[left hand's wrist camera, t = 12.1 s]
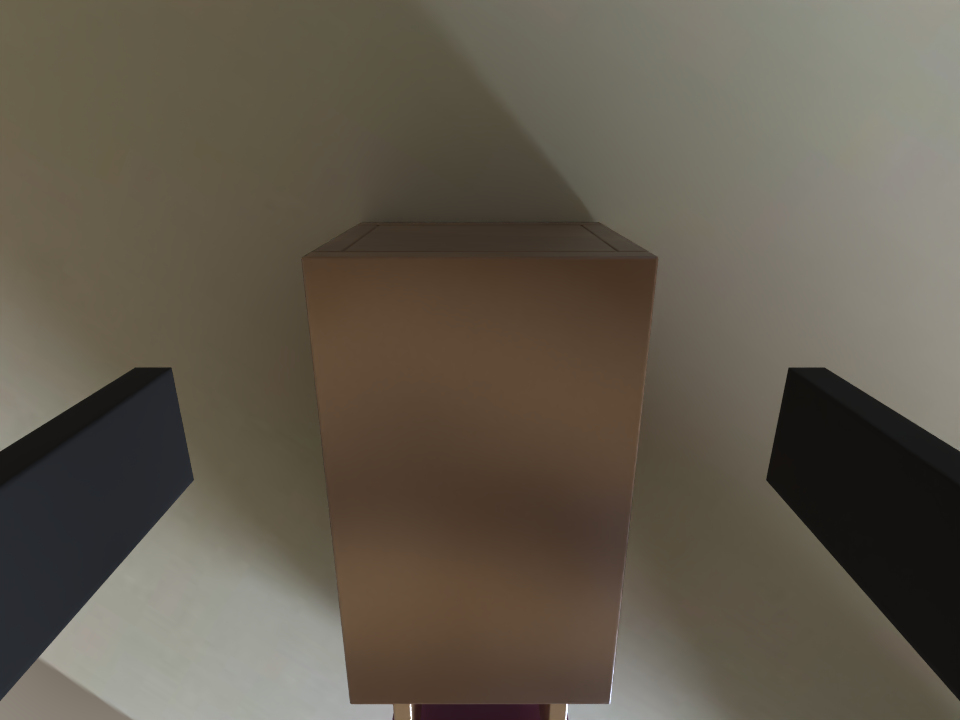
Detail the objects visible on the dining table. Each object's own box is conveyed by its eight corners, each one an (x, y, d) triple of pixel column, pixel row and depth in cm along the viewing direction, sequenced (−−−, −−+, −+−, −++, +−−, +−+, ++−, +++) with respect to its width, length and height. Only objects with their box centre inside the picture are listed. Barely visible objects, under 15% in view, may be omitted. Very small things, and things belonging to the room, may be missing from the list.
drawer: (555, 757, 36) (572, 892, 29) (404, 757, 35) (388, 892, 29) (577, 433, 28) (606, 518, 21) (383, 433, 28) (353, 518, 21)
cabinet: (576, 558, 31) (611, 705, 23) (384, 558, 31) (349, 705, 23) (600, 222, 25) (659, 256, 17) (359, 222, 25) (300, 257, 17)
